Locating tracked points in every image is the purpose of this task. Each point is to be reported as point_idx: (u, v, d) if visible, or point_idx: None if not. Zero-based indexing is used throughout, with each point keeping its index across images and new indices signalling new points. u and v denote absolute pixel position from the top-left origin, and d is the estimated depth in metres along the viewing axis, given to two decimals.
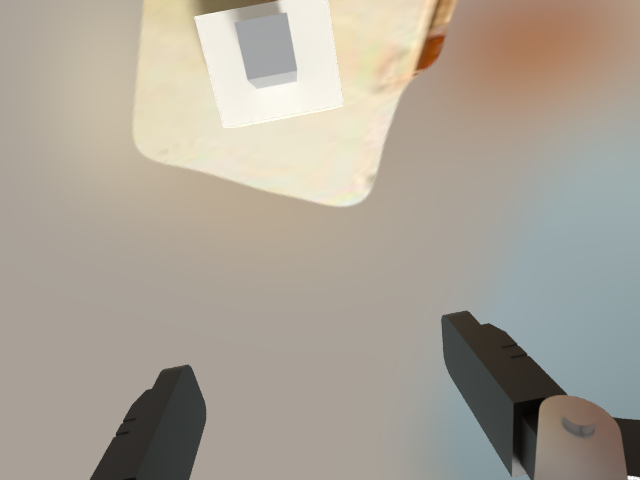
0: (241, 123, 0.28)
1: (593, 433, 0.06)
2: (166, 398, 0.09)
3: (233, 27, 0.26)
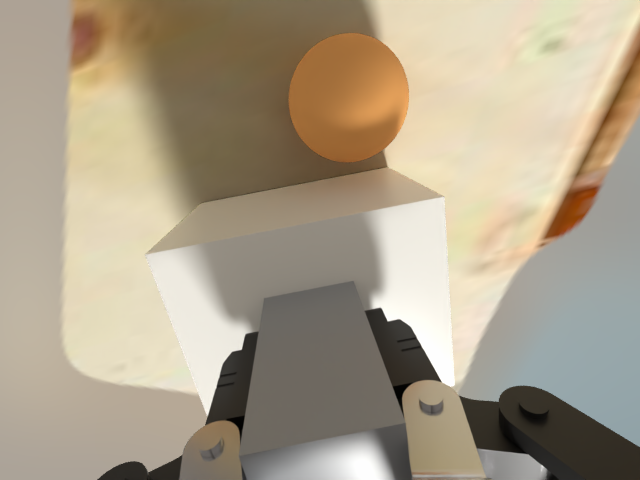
0: None
1: (437, 411, 0.07)
2: None
3: (233, 270, 0.12)
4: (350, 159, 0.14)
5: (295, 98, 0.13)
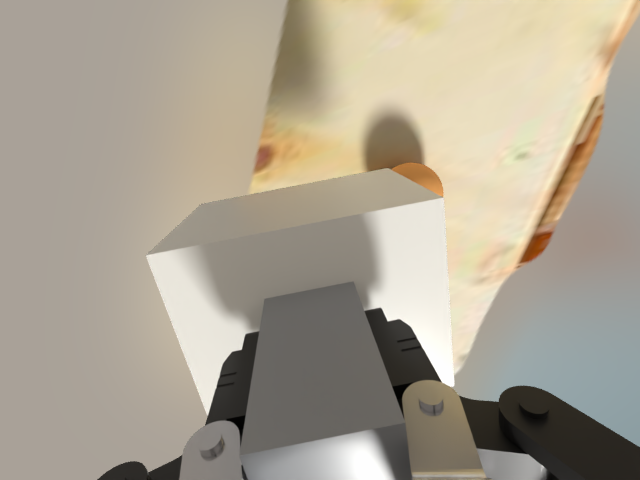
0: None
1: (437, 411, 0.07)
2: None
3: (233, 270, 0.12)
4: None
5: None
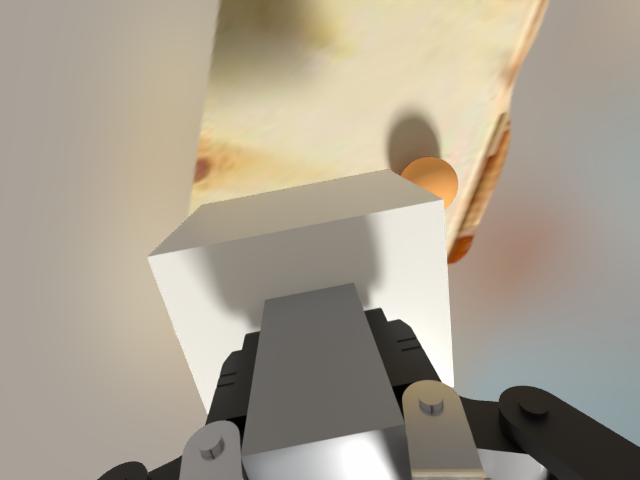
0: None
1: (438, 411, 0.07)
2: None
3: (234, 272, 0.12)
4: None
5: None
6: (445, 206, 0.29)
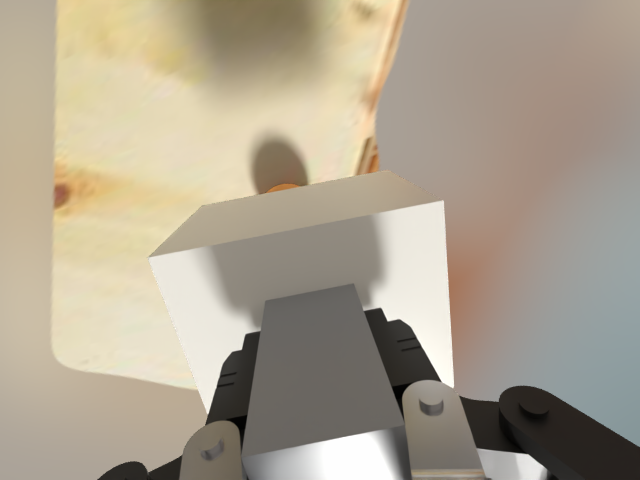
0: None
1: (438, 411, 0.07)
2: None
3: (234, 272, 0.12)
4: None
5: None
6: None
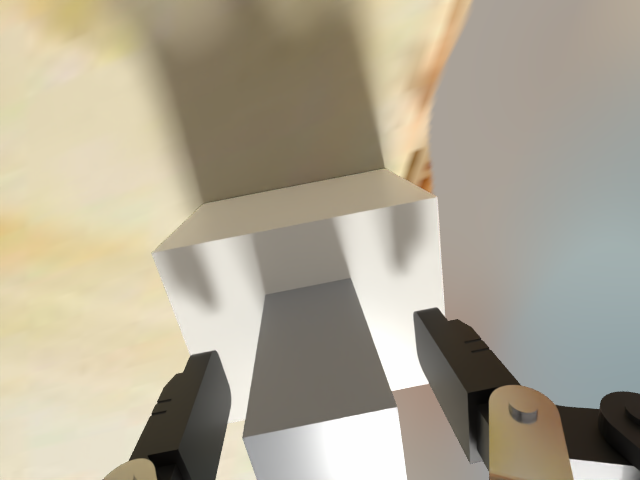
0: None
1: (534, 419, 0.06)
2: (198, 380, 0.09)
3: (235, 267, 0.12)
4: None
5: None
6: None
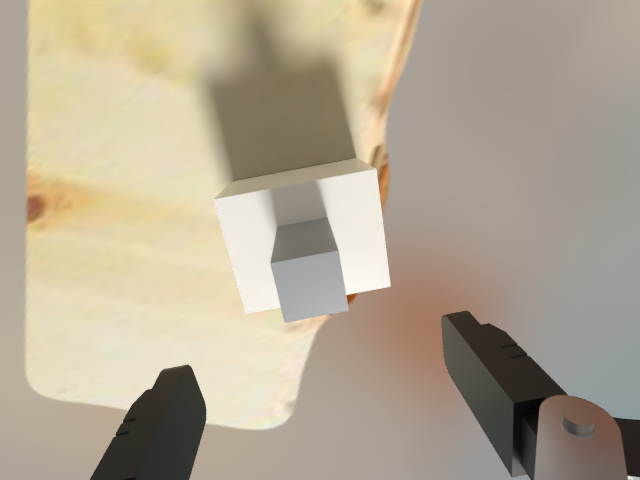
0: (267, 308, 0.23)
1: (593, 433, 0.06)
2: (166, 398, 0.09)
3: (260, 209, 0.21)
4: None
5: None
6: None
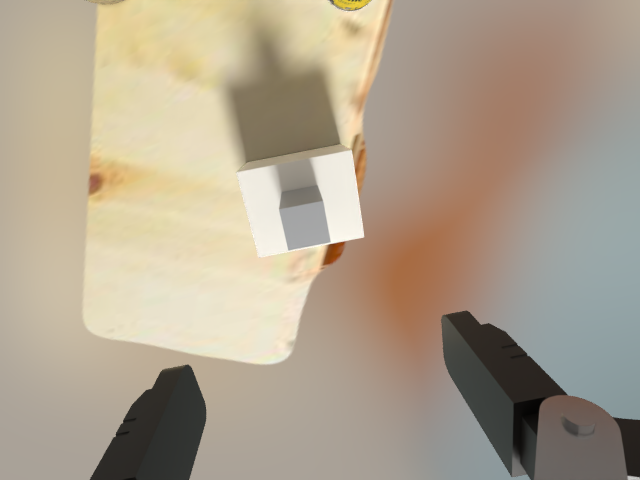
0: (274, 253, 0.32)
1: (593, 433, 0.06)
2: (166, 398, 0.09)
3: (269, 179, 0.30)
4: None
5: None
6: None
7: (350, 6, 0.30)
